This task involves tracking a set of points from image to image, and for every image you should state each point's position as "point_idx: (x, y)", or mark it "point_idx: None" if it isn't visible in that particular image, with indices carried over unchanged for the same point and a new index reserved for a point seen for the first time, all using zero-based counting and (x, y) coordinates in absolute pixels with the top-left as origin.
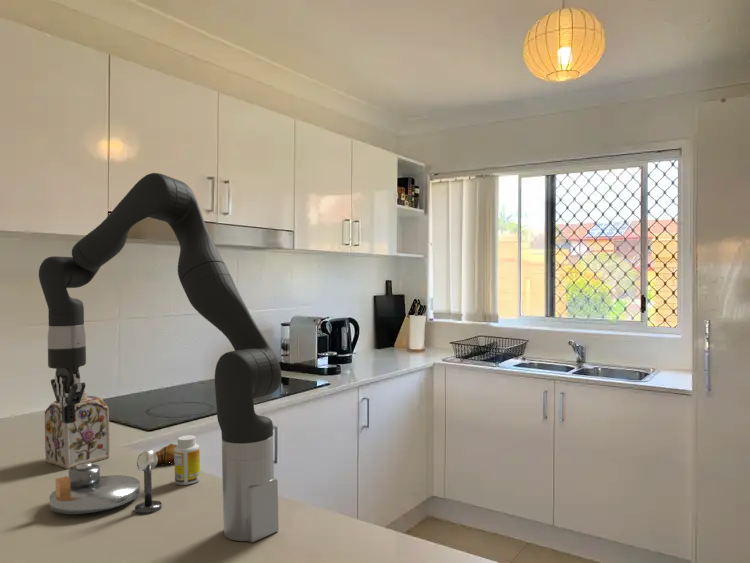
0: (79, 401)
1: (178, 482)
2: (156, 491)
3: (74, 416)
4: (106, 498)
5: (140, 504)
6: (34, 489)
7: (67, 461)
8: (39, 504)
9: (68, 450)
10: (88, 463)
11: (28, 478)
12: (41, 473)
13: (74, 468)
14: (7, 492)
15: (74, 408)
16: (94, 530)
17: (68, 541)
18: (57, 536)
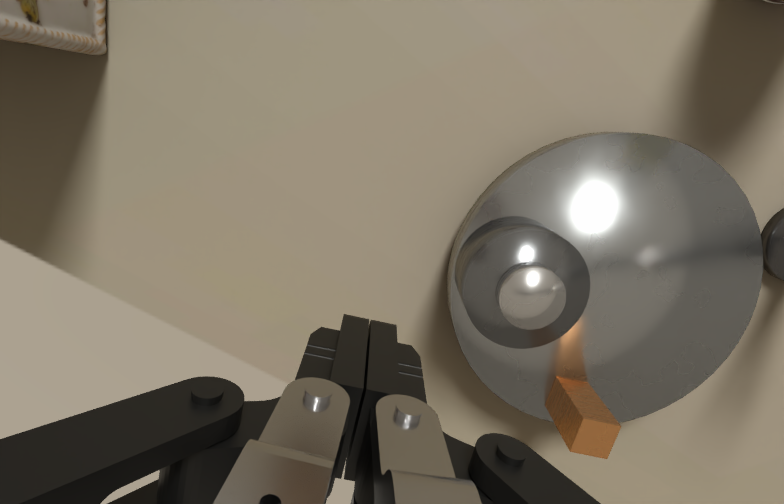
0: (542, 465)
1: (781, 3)
2: (718, 100)
3: (395, 342)
4: (718, 339)
5: (780, 250)
6: (241, 273)
7: (85, 49)
8: None
9: (48, 34)
10: (544, 284)
11: (83, 205)
12: (61, 141)
13: (479, 305)
14: (184, 328)
15: (398, 381)
16: (738, 405)
17: (719, 468)
18: (666, 461)
